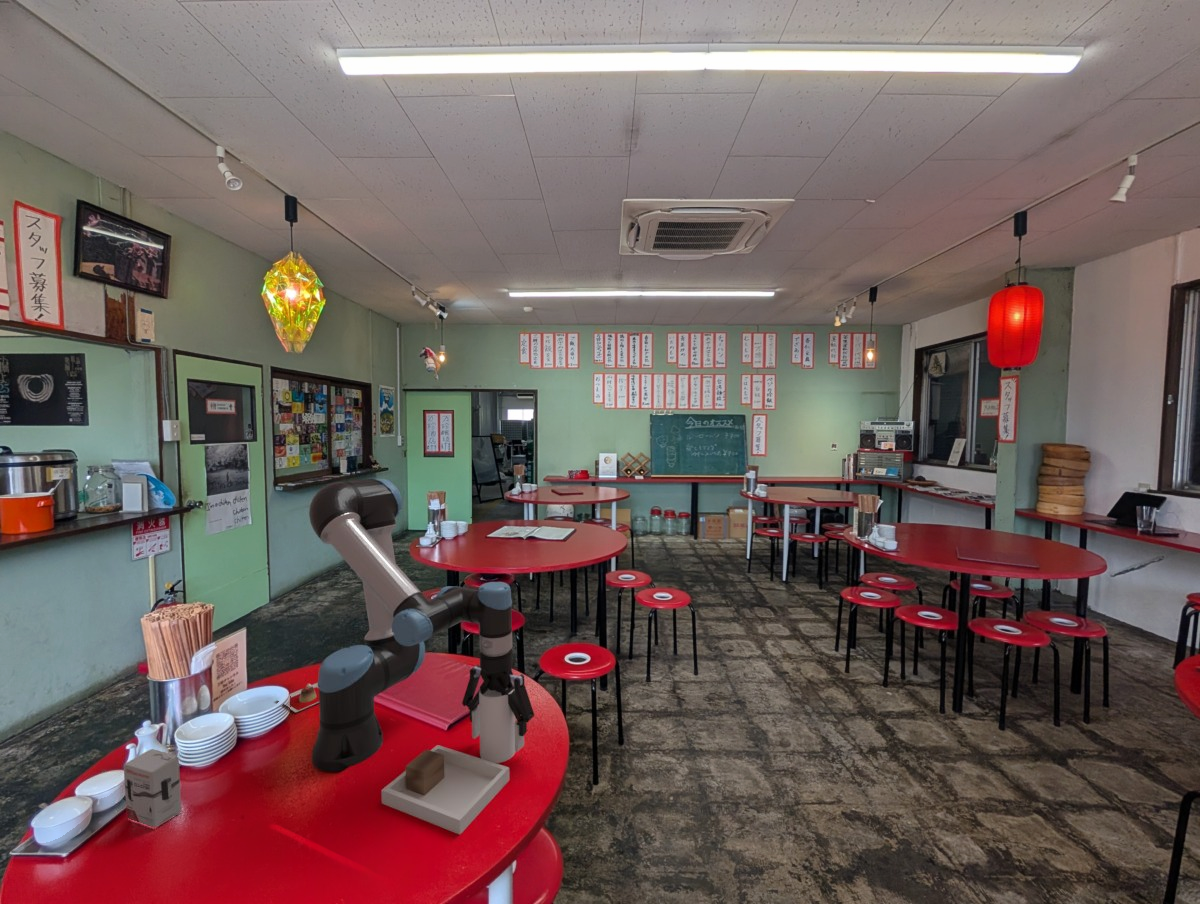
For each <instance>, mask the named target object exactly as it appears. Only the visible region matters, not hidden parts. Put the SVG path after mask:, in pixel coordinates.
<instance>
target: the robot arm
mask: <svg viewBox="0 0 1200 904" xmlns="http://www.w3.org/2000/svg"><path fill="white" fill-rule="evenodd" d="M402 508H403V499H402V495H401V493H400V490H399V489H398V487H397V486H396V485H395V484H393V483H392V481H390V480H388V479H385V478H366V479H359V480H347V481H336V482H332V483H329V484H327V485H325V486H323V487H322V488H321V489H319V490H318V491H317V492H316V494H315V495H314V496H313V498H312V500H311V502H310V505H309V511H308V513H309V514H308V515H309V522H310V525H311V527H312V529H313V531H314V533H315V535H316V536H317V537H318V538H319V539H320V541H321V542H322V543H324V544H325V545H331V546H332V547H333V548H334V549H335V551H337V553H338V554H339V555H340V556H341V558H342V559H343V560H344V561H345V562H346V563H347V564H348V566H349V567H350V569H351V570H352V571H354V573H355V574H356V575H357V576H358V577H359V579H360V580H361V581H362V586H363V594H364V602H365V607H366V612H367V619H368V620H367V621H368V626H369V630H368V631H367V633H366V634H365V636H364V645H363V644H357V645H351V646H349V647H343V648H341V649H339V650H336V651H334V652H333V653H331V654H329V655H328V656H327V657H326V658H325V659H324V660H323V661H322V663H321V664H320V666H319V669H318V678H317V683H318V688H317V689H318V702H319V703H318V704H319V707H318V708H319V712H318V713H319V728H318V731H317V735H316V738H315V739H316V740H315V743H314V745H313V747H312V752H311V761H312V766H313V767H314V768H315V769H317V770H319V771H322V772H328V773H329V772H341V771H346V769H348V768H349V767H351V766H355V765H357V764H360V763H362V762H364V761H365V760H368V759H369V758H370V757H372V756H374V754H376V753H377V752H378V751H379V750H380V749H381V748H382V745H383V743H384V737H383V736H384V735H383V730H382V727H381V725H380V723H379V720H378V718H377V716H376V714H375V697H376V696H377V695H379V694H381V693H383V692H384V691H386V690H388V689H390V688H392V687H393V686H396V685H397V684H398V683H401V682H403V681H404V680H407V679H408V678H410V677H411V676H412V675H413V674H414V673H416V672H417V671H419V670H420V668H421V666H422V665H423V663H424V660H425V656H426V645H425V642H426V641H428V639H431V637H433V636H435V635H437V634H440V633H441V632H443V631H445V630H447V629H450V628H451V627H454V626H456V625H457V624H460V623H462V622H467V623H472V624H478V631H479V632H478V633H479V651H480V653H479V664H476V665H475V666H474V667H472V668H471V669H469V680H468V682H467V687H466V689H465V692H464V695H463V698H462V702H461V704H462V706H463V707H467V708H468V710H469V722H470V723H471V736H472V739H474V740H475V739H477V738H478V737H480V717H479V689H481V694H482V695H483V694H484V693H485V692H486V691H487V690H488V689H489V690H491V691H492V690H495V691H497V692H500V693H501V695H502V696H503V695H508V704H509V706H510V708H511V710H512V712H513V714H514V716H515V751H516V753H517V752H519V751H520V750H521V749H523V747H524V746H525V735H526V733H527V731H528V730H527V729H528V725H527V723H529V722H530V721H531V720H532V719H533V718H534V717H535V713H534V709H533V705H532V704H531V701H530V697H529V694H528V691H527V688H526V685H525V675H524V674H523V673H522V674H521V673H520V674H519V675H515V674H514V673H513V670H512V668H513V665H514V662H513V660H514V659H513V649H512V648H513V626H512V615H513V614H512V612H513V611H512V607H513V600H512V590H511V587H510V585H509V584H508V583H506V582H503V581H490V582H485V583H483V584H481V585H480V586H479V587H478V589H473V588H466V587H463V586H458V585H456V586H449V585H448V586H447V585H446V586H444V587H442V588H441V589H440V590H439V592H437V594H436V595H435V597H434V598H432V599H428V598H427V597H426V595H424V593H422V592H421V590H420V589H419V588H418V587H417V586H416V585H415V583H413V582H412V580H411V578H409V577H408V576H407V575H406V574H405V572H404V570H402V569H401V568H400V567H399V566H398V565H397V563H396V557H395V551H394V544H393V538H392V531H393V530H394V529H395V527H396V526H397V522H396V518H397V517H398V516H399V514H400V513H401V510H402ZM480 678H481V679H482V680H483V682H482V683H481V685H480V686H479V689H478V690H477V687H478V684H479V681H480ZM512 683H513V684H512ZM507 687H508V690H507V691H506V690H505V689H506V688H507ZM513 689H515V691H514V690H513ZM476 690H477V692H476ZM512 690H513V692H512V693H511V694H508V693H510V692H511V691H512Z"/></svg>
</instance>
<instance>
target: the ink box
mask: <svg viewBox="0 0 1200 904" xmlns="http://www.w3.org/2000/svg"><path fill="white" fill-rule="evenodd" d="M179 761H180V760H179V756H178V755H177V754H173V753H170V752H169V753H168V752H166V751H161V750H159V749H158V750H157V749H154V748H152V749H149V750H147V751H145V752H143V753H141V754H140V755H138V756H136V757H134V758H132V759H131V760H129V761H127V762H125V763H124V764H123V777H124V793H125V809H126V811H125V812H126V819H127V818H129V819H131V820H134V821H137V822H140V823H143V824H146V825H148V826H151V827H154V828H155V827H157V826H159V825H160V824H162V823H164V822H165V821H167V820H169V819H170V818H172V817H173V816H175V815H177V814H178V815H180V814H181V813H182V799H181V798H182V796H181V794H182V793H181V777H180V763H179ZM180 812H181V813H180ZM179 813H180V814H179ZM178 815H177V816H178ZM175 817H176V816H175ZM172 819H173V818H172ZM169 821H170V820H169Z"/></svg>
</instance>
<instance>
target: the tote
mask: <svg viewBox="0 0 1200 904" xmlns="http://www.w3.org/2000/svg"><path fill="white" fill-rule="evenodd" d="M429 750H430V749H429ZM430 751H433V752H436V753H439V754H442V755H444V778H443V779H442V780H441V781H440V782H439V783H438V784H437V785H436V786H435V787H434V788H432V789H431V790H430V791H429V792H428V793H427V794H426V795H425V796H423V795H421V794H418V793H415V792H413V791H410V790H407V789H406V770H404V771H403V772H402V773H401V774H399V776H396V778H394V780H392V781H391V782H390V783H388V784H387V785H386V786H384V788H382V789H381V804H383V805H384V806H387V807H389V808H392V809H395V810H398V811H400V812H402V813H405V814H407V815H410V816H412V817H414V818H417V819H420V820H422V821H425V822H428V823H429V824H432V825H435V826H437V827H440V828H443V829H445V830H447V831H450V832H452V833H455V834H456V835H457V834H458V835H461V834H462V833H464V831H465V830H466V829H467V828H468V827H469V825H470V824H472V822H473V821H474V820H475V819H476V818H477V816H478V815H479V814H481V813H482V811H483V810H484V809H485V808H486V806H488V805H489V803H490V802H491V801H492V800H493V799H494V798H495V796H496V795H498V793H499V792H500V791H502V789H503V788H504V787H505V786H506V785H507V784H508V782H509V781H510V767H509V766H506V765H502V764H500V763H493V762H490V761H487V760H484V759H482V758H481V757H477V756H474V755H471V754H467V753H464V752H461V751H457V750H454V749H451V748H448V747H445V746H442V745H438V744H436V746H434V747H433V748H431V750H430Z"/></svg>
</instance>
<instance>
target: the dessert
mask: <svg viewBox="0 0 1200 904" xmlns="http://www.w3.org/2000/svg"><path fill="white" fill-rule="evenodd" d="M315 688H317V689H319V688H318V682H316V683H313V684H311V683H307V684H306V686H305V687H304V688H301V689H299V690H296V691H294V692H291V693H289V694H290V696H291V698H293V697H296V696H298V695H299V699H298V702H299V703H302V704H303V703H309V702H311V701H314V700H315V699H317V698H318V697H317V692H316V690H315ZM317 704H319V701H317V702H315V703H313V704H310V705H308V706H306V707H303V708H300V709H296V708H294V707H293V706H291V707H290V709H289V710H290V711H292V712H294V713H299V712H302V711H303V710H306V709H308V708H311V707H313V706H315V705H317Z"/></svg>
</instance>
